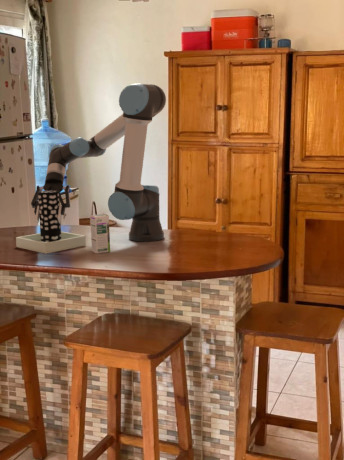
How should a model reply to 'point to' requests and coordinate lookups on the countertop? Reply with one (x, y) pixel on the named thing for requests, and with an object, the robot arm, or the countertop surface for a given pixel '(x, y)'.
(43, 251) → the tray
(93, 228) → the syrup box
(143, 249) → the countertop surface
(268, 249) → the countertop surface
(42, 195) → the spotted tube
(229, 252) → the countertop surface
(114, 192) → the robot arm
